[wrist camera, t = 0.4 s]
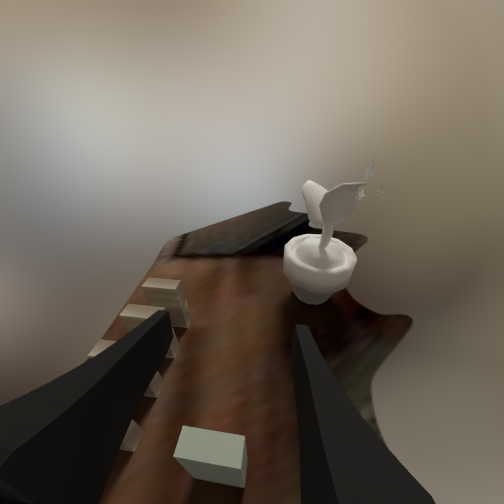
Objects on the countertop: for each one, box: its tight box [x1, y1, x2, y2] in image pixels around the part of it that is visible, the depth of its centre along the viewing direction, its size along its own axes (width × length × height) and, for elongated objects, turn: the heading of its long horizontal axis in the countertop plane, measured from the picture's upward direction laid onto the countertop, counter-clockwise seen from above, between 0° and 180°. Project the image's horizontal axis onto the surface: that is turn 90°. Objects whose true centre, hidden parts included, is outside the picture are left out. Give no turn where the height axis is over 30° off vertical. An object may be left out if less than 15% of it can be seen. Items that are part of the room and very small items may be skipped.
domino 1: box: [88, 339, 164, 398], centre depth 24 cm, size 2×5×9 cm, turn 83°
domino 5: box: [173, 426, 247, 488], centre depth 18 cm, size 2×5×9 cm, turn 83°
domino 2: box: [120, 419, 143, 452], centre depth 20 cm, size 2×5×9 cm, turn 82°
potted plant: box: [283, 155, 384, 305], centre depth 33 cm, size 13×12×25 cm
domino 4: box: [119, 304, 180, 358], centre depth 28 cm, size 2×5×9 cm, turn 83°
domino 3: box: [142, 278, 192, 328], centre depth 32 cm, size 2×5×9 cm, turn 83°
